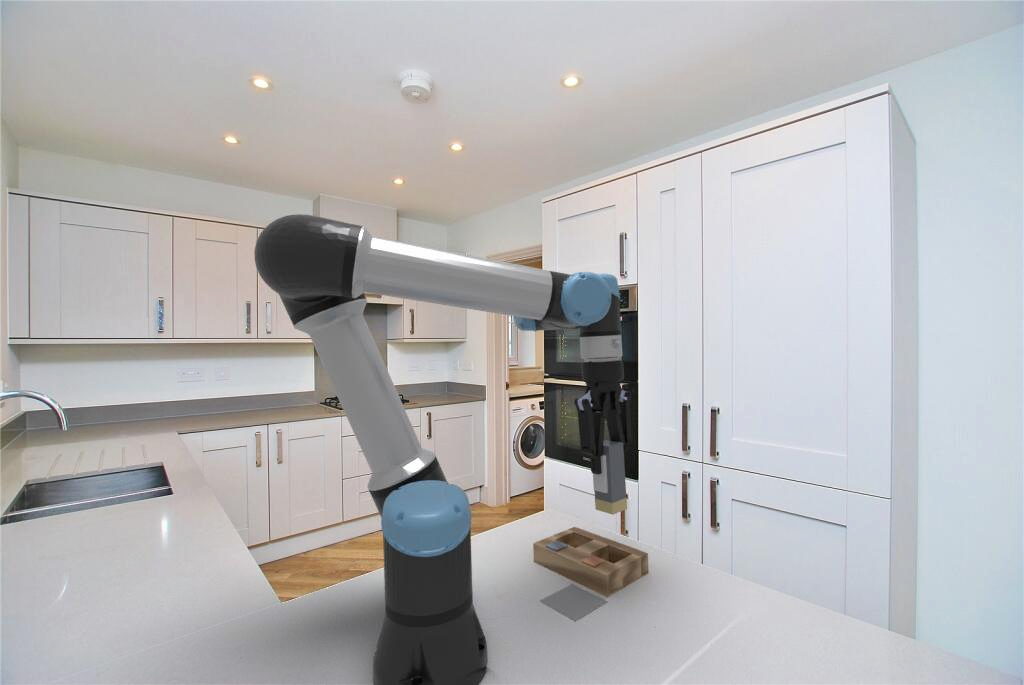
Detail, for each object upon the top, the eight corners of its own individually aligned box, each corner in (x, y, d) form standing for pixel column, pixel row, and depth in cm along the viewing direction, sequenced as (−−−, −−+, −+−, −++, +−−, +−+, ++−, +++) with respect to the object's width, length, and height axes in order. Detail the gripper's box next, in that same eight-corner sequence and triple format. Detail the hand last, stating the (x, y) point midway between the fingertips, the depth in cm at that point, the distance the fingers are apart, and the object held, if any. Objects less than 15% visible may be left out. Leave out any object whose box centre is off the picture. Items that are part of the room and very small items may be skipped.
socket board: (607, 599, 78) (606, 572, 78) (533, 563, 92) (533, 541, 92) (648, 575, 86) (647, 550, 86) (575, 545, 99) (574, 524, 99)
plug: (613, 514, 82) (608, 446, 82) (595, 509, 85) (591, 443, 85) (627, 508, 85) (623, 442, 85) (609, 503, 88) (605, 440, 88)
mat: (575, 624, 71) (575, 621, 71) (539, 603, 77) (539, 600, 77) (608, 604, 76) (608, 601, 76) (572, 586, 83) (572, 583, 83)
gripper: (585, 362, 77) (594, 504, 77) (647, 356, 88) (654, 481, 88) (553, 363, 83) (561, 495, 83) (615, 357, 94) (621, 474, 93)
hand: (609, 487), depth 85 cm, fingers closed on plug, 4 cm apart
